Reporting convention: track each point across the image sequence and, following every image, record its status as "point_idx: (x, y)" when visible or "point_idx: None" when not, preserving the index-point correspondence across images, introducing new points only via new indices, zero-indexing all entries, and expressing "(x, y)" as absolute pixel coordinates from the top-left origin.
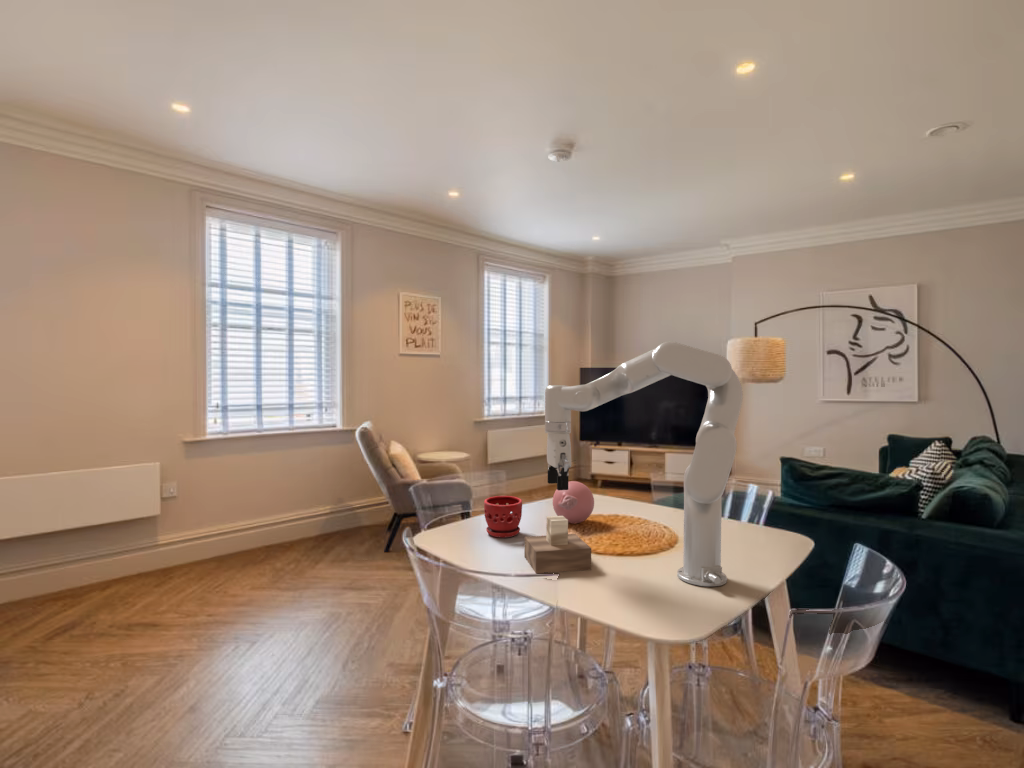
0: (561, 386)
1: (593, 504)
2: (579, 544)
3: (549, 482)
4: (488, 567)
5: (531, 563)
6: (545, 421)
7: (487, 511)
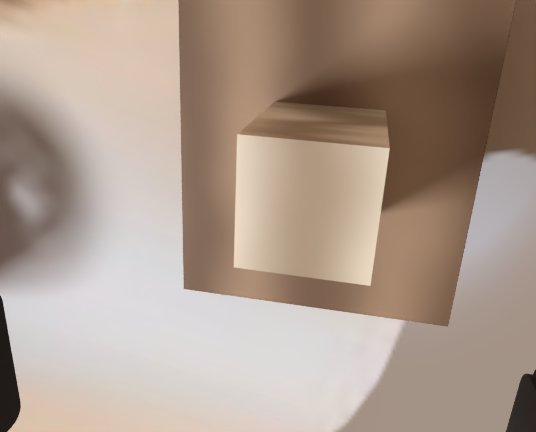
0: None
1: None
2: (412, 32)
3: (13, 414)
4: (306, 406)
5: None
6: None
7: None
